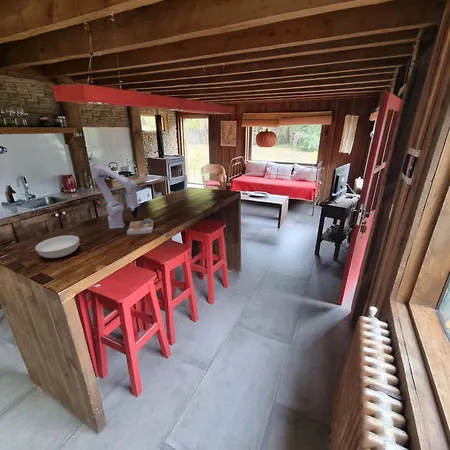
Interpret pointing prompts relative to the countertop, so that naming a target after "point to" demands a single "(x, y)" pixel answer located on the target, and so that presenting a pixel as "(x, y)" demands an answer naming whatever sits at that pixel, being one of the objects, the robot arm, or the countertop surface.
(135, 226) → the terracotta block
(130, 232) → the grey tray
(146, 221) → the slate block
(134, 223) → the birch board
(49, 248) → the serving bowl
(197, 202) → the countertop surface
